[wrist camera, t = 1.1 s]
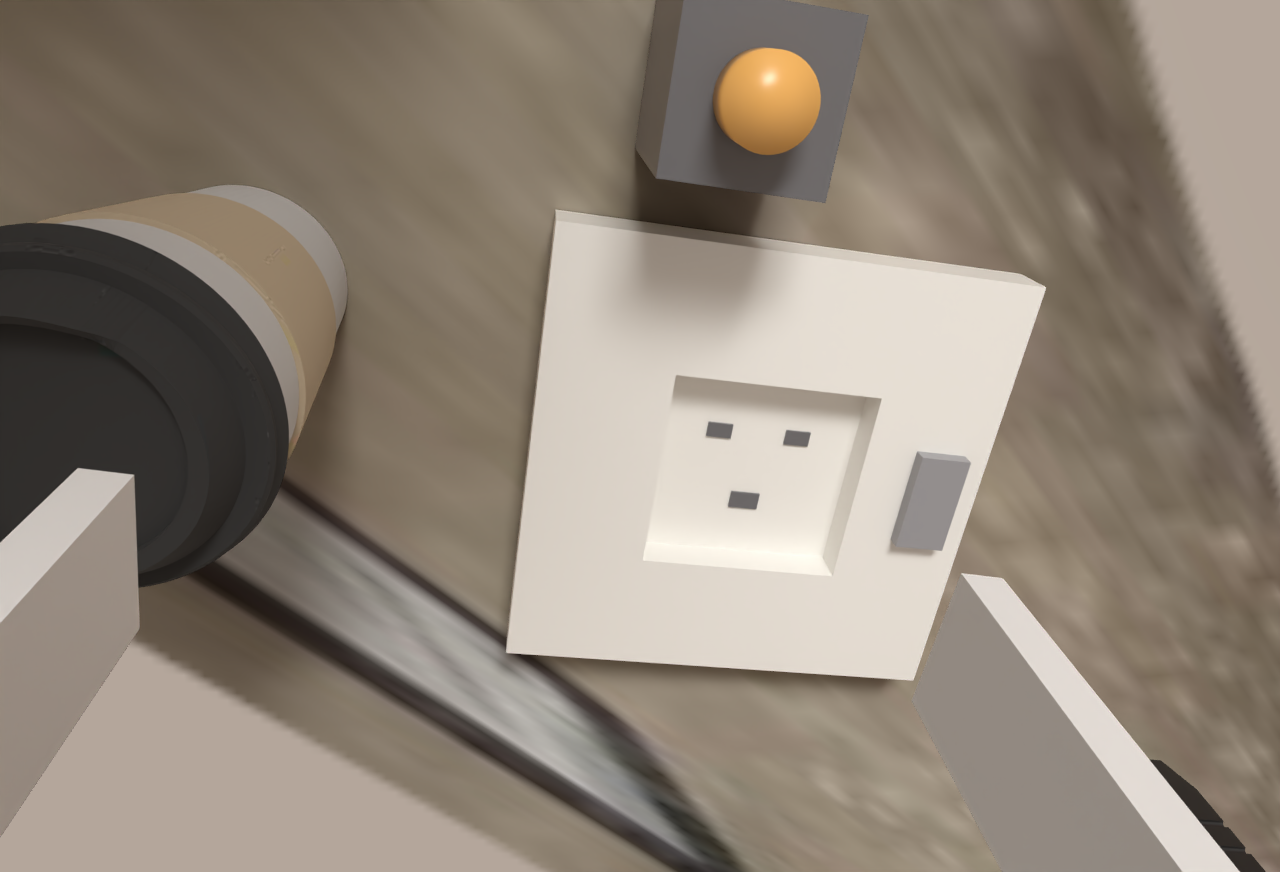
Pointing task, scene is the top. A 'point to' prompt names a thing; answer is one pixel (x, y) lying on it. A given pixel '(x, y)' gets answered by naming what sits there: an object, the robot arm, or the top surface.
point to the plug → (748, 94)
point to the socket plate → (754, 447)
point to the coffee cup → (165, 360)
